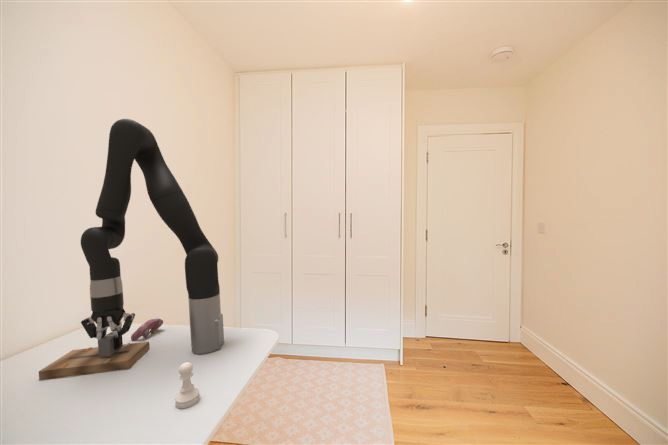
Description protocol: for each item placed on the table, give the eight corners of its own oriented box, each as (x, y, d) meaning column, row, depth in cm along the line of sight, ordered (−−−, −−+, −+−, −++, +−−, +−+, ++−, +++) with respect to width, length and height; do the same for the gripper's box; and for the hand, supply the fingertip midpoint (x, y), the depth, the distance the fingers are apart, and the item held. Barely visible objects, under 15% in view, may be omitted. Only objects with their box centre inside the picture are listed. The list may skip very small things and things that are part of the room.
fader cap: (122, 346, 86) (121, 330, 85) (110, 356, 80) (109, 339, 80) (111, 347, 85) (110, 331, 85) (98, 357, 79) (97, 340, 79)
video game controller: (138, 346, 96) (145, 328, 95) (128, 339, 97) (134, 322, 96) (161, 333, 106) (167, 318, 105) (152, 328, 106) (157, 312, 105)
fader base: (149, 348, 90) (149, 340, 90) (129, 369, 78) (128, 359, 78) (73, 357, 86) (72, 349, 86) (39, 380, 74) (38, 370, 74)
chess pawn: (194, 391, 66) (192, 355, 66) (203, 399, 63) (201, 361, 63) (171, 403, 63) (169, 364, 62) (180, 412, 59) (178, 372, 59)
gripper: (139, 287, 87) (142, 340, 87) (89, 291, 84) (93, 346, 85) (125, 294, 79) (129, 352, 80) (70, 298, 77) (74, 358, 77)
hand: (110, 348), depth 82 cm, fingers closed on fader cap, 3 cm apart
